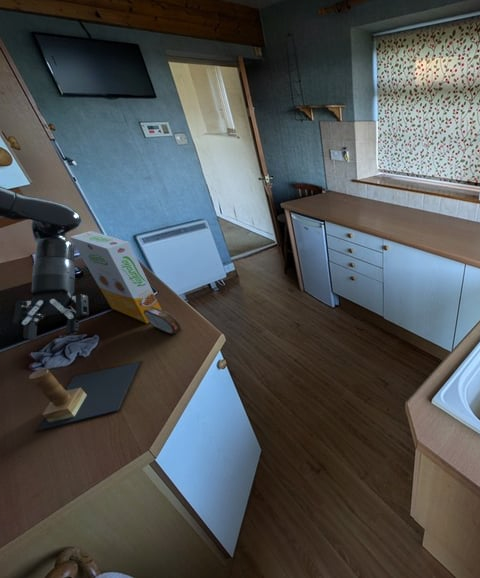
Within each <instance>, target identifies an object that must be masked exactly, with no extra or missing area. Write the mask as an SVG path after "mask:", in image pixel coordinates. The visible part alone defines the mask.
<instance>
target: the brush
mask: <svg viewBox="0 0 480 578" xmlns="http://www.w3.org/2000/svg"><path fill="white" fill-rule="evenodd" d="M28 378H29V380H30V381H31V382H32V383H33V384H34V385H35V386H36V387H37V388H38V389H39V391H40V392H41V393H42V394H43V395H44V396H45V397H46V398H47V400H48V401H50V402H49V404H48V405H47V407H46V408H45V410H44V411H43V413H42V416H43V417H44V418H45V419H47V420H48V421H49V422H54V421H58V420H62V419H66V418H70V417H74V416H75V415H76V413H77V411H78V410H79V408H80V406H81V404H82V403H83V401H84V399H85V397H86V396H87V395H86V393H85V392H84V391H83V390H82V389H81V388H76V389H72V390H67V391H66V390H65V389H66V388H65V387H64V386H63V385H62V384H61V383H60V382H59V381H58V380H57V378H56V377H55V376H54V375H53V373H52V372H50V370H49V369H48V368H40V369H37V370H35V371H34V372H32V373H31V374H29V376H28Z"/></svg>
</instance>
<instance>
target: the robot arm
mask: <svg viewBox="0 0 480 578" xmlns="http://www.w3.org/2000/svg"><path fill="white" fill-rule="evenodd" d="M0 217H1V218H4V219H8V220H12V221H21V220H31V232H32V236H33V240H34V242H35V257H34V262H33V267H32V277H31V278H32V279H31V293H32V297H33V298H32V299H31V300H21V299H20V300H17V301H16V302H15V307H14V313H13V318H12V319H13V320H12V322H13V324H18V325H22V326H23V330H22V331H23V333H22V338H24V340H26V341H35V340H37V336H38V335H37V334H38V333H37V332H38V324H39V322H40V321H41V320H43V319H45V318H46V317H47V316H53V315H61V314H63V315H64V316H65V317H66V318H67V319H66V335H70V336H72V335H77V333H78V332H79V330H80V327H79V326H80V320H81V319H84V318H88V317H89V315H90V310H89V297H88V295H85V294H82V293H77V294H75V287H76V285H75V283H76V267H75V245H74V244H73V242H72V241H69V240H67V233H70V232H72V231H74V230H76V229H78V228H79V227H80V226H81V224H82V218H81V215H80V214H79V213H78V212H77V211H76V210H74V208H71V207H70V206H67V205H66V204H63V203H59V202H56V201H53V200H48V199H43V198H39V197H35V196H31V195H30V196H29V195H25V194H21V193H19V192H17V191H14V190H11V189H8V188H7V187H6V188H5V187H3V186H0ZM74 294H75V295H74ZM74 303H75V309H74V308H73V307H72V305H73V304H74Z"/></svg>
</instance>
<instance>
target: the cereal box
mask: <svg viewBox="0 0 480 578" xmlns="http://www.w3.org/2000/svg"><path fill="white" fill-rule="evenodd" d="M69 238H70V240H71V243H72V244H73V246H74V248H75V249H76V250H77V252H78V254H79V256H80V257H81V259H82V260H83V262H84V264H85V266H86V267H87V269H88V271H89V273H90V274H91V276H92V278H93V279H94V281H95V283H96V285H97V286H98V288H99V290H100V291H101V293H102V295H103V296H104V298H105V300H106V301H107V303H108V305H109V307H110V309H111V310H112V309H113V310H114V311H117V312H120V313H122V314H123V315H126V316H129V317H131V318H133V319H135V320H138V321H140V322H142V323H145V324H149V323H150V322H149V321H148V319H147V317H146V316H145V314H144V311H145V310H146V309H148V308H150V307H151V306H153V307H155V308H158V309H160V310H163V309H162V308H161V305H160V303H159V301H158V299H157V297H156V295H155V292H154V290H153V288H152V287H151V285H150V282H149V281H148V278H147V277H146V274H145V272H144V270H143V268H142V266H141V263H140V262H139V260H138V257H137V255H136V253H135V251H134V249H133V247H132V244H131V243H130V241H127V240H124V239H120V238H117V237H113V236H110V235H108V234H104V233H100V232H96V231H93V230H90V231H85V232H83V233H78V234H75V235H72V236H69Z"/></svg>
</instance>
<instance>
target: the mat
mask: <svg viewBox="0 0 480 578" xmlns="http://www.w3.org/2000/svg"><path fill="white" fill-rule="evenodd" d="M139 365H140V362H135V363H134V362H133V363H130V364H129V363H128V364H125V365H121V366H116V367H111V368H106V369H102V370H96V371H92V372H86V373H82V374H78V375H74V376H73V377H72V379H71V380H70V382H69V383H68V385H67V386H66V387H65V388H64V389H65V390H66V391H67V390H72V389H76V388H81V389H82V390H83V391H84V392H85V393H86V395H87V396H86V397H85V399H84V401H83V403H82V404H81V406H80V408H79V410H78V411H77V413H76V415H75V416H74V417H70V418H66V419H62V420H58V421H54V422H49V421H48V420H47V419H46V418H45V419H44V420H43V422H42V424H41V425H40V426H39V428H38V431H39V432H40V431H44V430H49V429H52V428H55V427H60V426H63V425H68V424H72V423H75V422H80V421H84V420H88V419H91V418H96V417H100V416H104V415H107V414H111V413H115V412H118V411H119V410H120V408H121V405H122V403H123V401H124V399H125V397H126V394H127V391H128V389H129V387H130V385H131V383H132V380H133V378H134V377H135V374H136V372H137V370H138V367H139Z"/></svg>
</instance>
